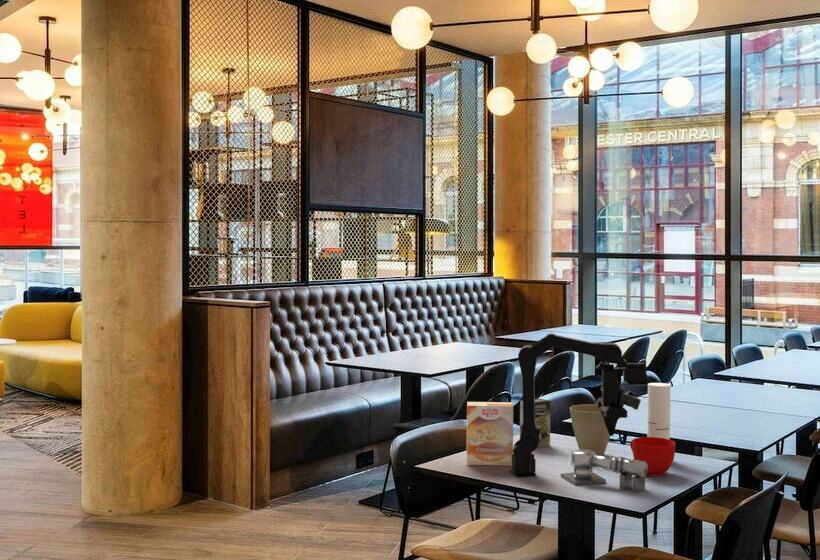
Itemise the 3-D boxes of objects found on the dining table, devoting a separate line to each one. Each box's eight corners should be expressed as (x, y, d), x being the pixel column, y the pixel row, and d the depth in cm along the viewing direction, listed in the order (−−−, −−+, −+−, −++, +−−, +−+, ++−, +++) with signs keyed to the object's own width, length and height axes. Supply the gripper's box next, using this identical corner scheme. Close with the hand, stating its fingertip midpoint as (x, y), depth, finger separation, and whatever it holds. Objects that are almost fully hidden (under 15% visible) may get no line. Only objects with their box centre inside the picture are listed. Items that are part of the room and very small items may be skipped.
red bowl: (647, 463, 285) (647, 433, 285) (684, 476, 270) (684, 443, 270) (615, 468, 280) (615, 436, 279) (650, 480, 265) (651, 447, 264)
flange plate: (575, 485, 260) (575, 471, 260) (560, 476, 269) (560, 463, 269) (605, 482, 262) (606, 469, 262) (590, 474, 272) (590, 461, 272)
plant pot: (612, 450, 304) (613, 404, 303) (616, 461, 289) (616, 412, 288) (568, 449, 306) (569, 403, 305) (570, 459, 291) (570, 411, 290)
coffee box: (530, 448, 306) (530, 402, 306) (519, 445, 312) (519, 399, 311) (550, 445, 311) (551, 400, 310) (539, 442, 316) (539, 397, 316)
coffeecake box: (466, 465, 284) (466, 405, 283) (466, 459, 291) (466, 401, 290) (513, 465, 283) (513, 405, 282) (512, 460, 290) (512, 401, 289)
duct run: (616, 488, 256) (616, 458, 256) (623, 485, 260) (624, 455, 260) (640, 493, 251) (640, 462, 251) (647, 489, 255) (648, 459, 255)
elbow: (566, 466, 265) (566, 451, 265) (579, 461, 271) (579, 447, 271) (611, 475, 255) (611, 459, 255) (623, 470, 261) (623, 455, 260)
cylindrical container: (652, 456, 295) (653, 382, 294) (673, 459, 291) (673, 384, 290) (643, 460, 290) (644, 384, 289) (664, 463, 285) (665, 386, 284)
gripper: (645, 389, 257) (644, 442, 258) (632, 380, 276) (631, 429, 276) (606, 389, 258) (606, 442, 258) (596, 379, 276) (596, 429, 277)
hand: (611, 435), depth 268 cm, fingers closed
